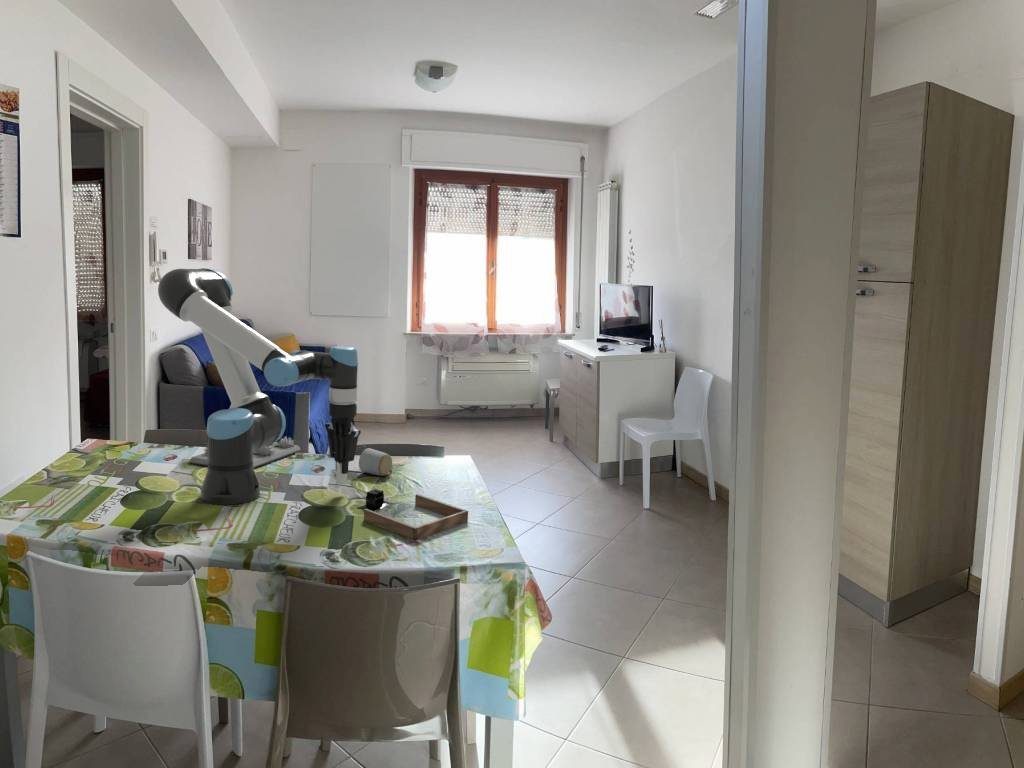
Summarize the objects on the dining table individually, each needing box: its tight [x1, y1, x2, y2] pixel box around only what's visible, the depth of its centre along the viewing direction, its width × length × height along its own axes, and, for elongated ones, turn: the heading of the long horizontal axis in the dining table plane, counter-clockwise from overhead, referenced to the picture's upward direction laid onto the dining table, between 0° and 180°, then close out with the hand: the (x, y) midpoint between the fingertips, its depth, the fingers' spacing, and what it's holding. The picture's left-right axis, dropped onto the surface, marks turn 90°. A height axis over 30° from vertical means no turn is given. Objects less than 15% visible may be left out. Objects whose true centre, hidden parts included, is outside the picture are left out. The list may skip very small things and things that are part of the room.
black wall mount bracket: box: [356, 488, 393, 512], centre depth 202 cm, size 12×7×5 cm, turn 152°
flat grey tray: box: [189, 436, 302, 470], centre depth 242 cm, size 30×22×7 cm
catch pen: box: [363, 493, 469, 541], centre depth 192 cm, size 19×19×3 cm
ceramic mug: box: [358, 447, 394, 477], centre depth 233 cm, size 11×8×8 cm
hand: (341, 483), depth 210 cm, fingers closed
